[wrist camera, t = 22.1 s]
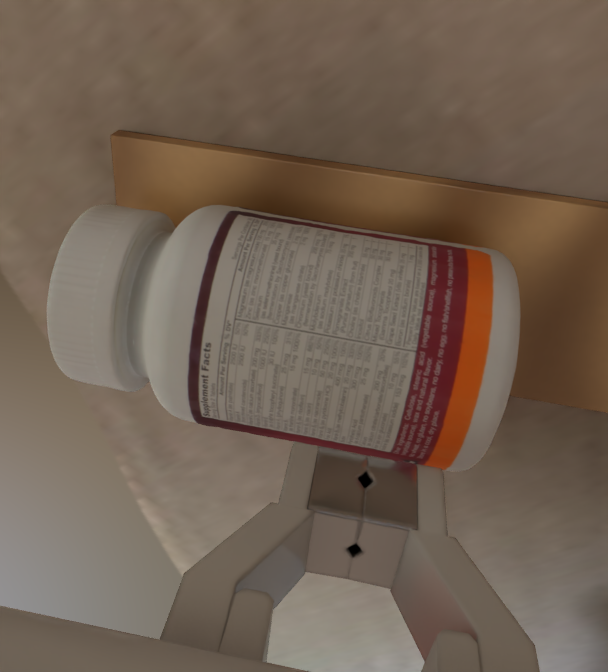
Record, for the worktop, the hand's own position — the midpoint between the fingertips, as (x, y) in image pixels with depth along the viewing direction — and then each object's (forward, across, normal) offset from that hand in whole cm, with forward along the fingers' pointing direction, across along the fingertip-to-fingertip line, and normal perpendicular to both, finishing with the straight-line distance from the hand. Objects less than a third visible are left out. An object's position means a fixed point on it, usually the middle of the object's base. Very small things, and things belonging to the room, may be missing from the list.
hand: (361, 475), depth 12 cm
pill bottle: (+5, -3, 0) cm, 6 cm away
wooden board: (+9, -1, 0) cm, 9 cm away
